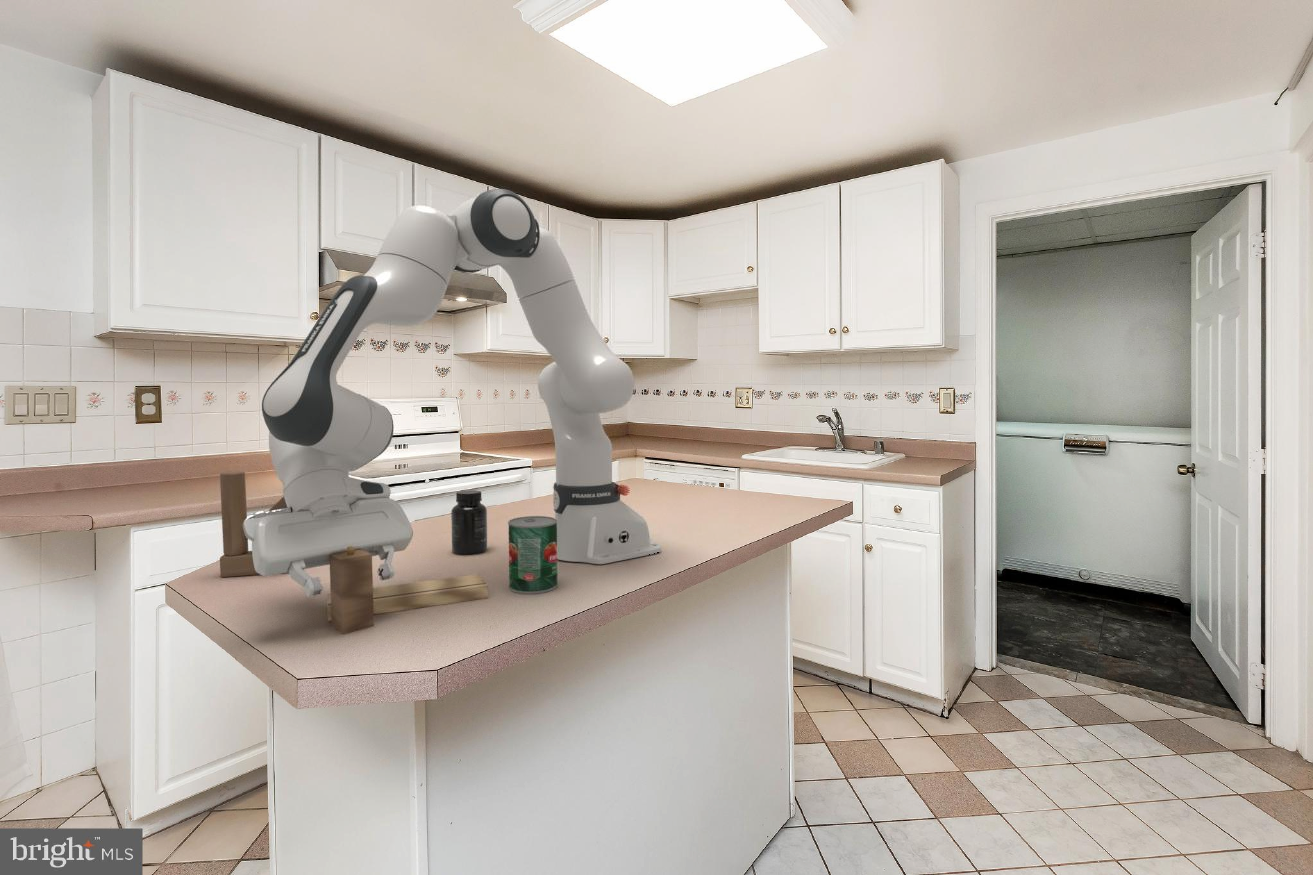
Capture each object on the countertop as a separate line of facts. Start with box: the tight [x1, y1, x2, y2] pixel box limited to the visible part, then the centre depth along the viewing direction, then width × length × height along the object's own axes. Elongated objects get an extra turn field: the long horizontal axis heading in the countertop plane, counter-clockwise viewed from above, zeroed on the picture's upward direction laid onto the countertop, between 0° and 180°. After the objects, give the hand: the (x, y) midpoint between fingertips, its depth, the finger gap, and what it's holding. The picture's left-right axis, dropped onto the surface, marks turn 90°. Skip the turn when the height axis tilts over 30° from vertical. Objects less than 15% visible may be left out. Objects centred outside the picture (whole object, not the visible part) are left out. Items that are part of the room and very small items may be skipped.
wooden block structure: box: [219, 470, 290, 578], centre depth 108 cm, size 4×11×18 cm, turn 107°
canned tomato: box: [507, 515, 559, 595], centre depth 101 cm, size 8×8×11 cm
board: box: [326, 574, 489, 622], centre depth 94 cm, size 22×6×2 cm, turn 117°
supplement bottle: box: [450, 489, 488, 556], centre depth 124 cm, size 7×7×12 cm
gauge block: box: [329, 546, 375, 635], centre depth 84 cm, size 4×4×11 cm
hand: (353, 584), depth 83 cm, fingers open, 8 cm apart
